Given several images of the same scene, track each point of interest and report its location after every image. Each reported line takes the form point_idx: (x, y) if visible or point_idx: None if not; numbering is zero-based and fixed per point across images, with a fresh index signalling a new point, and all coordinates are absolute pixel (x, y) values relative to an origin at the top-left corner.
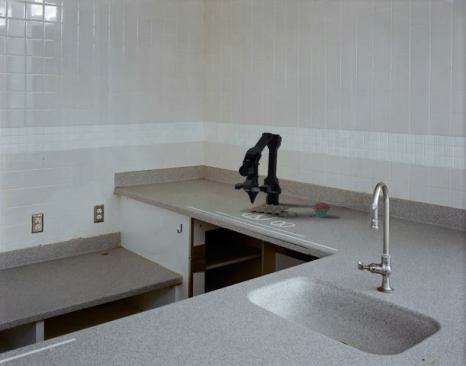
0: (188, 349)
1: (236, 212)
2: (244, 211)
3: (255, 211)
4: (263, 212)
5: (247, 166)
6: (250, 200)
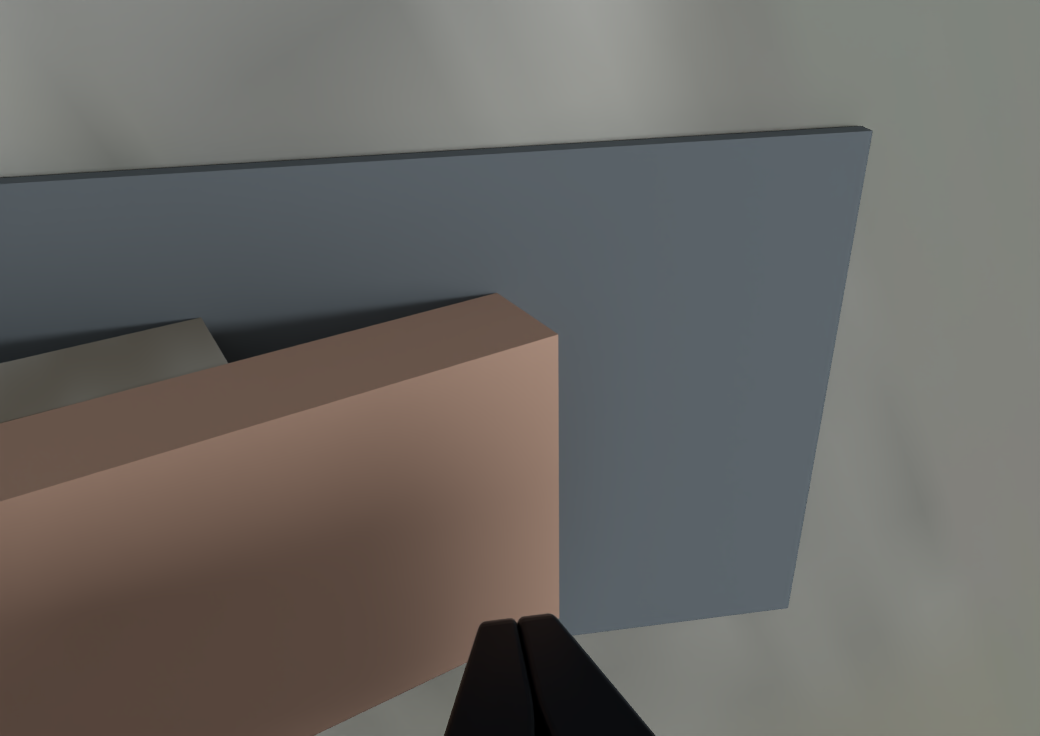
0: None
1: (939, 59)
2: (700, 275)
3: None
4: None
5: None
6: (621, 708)
